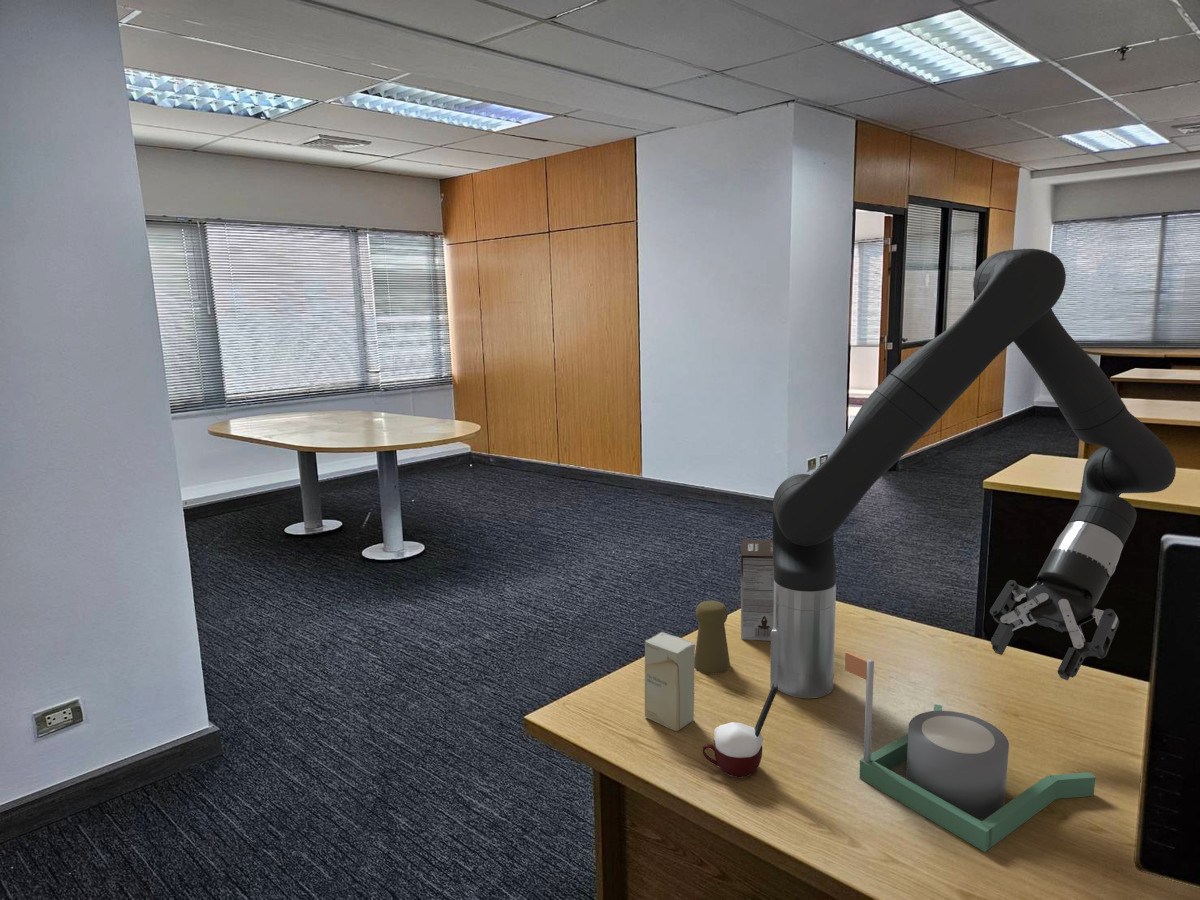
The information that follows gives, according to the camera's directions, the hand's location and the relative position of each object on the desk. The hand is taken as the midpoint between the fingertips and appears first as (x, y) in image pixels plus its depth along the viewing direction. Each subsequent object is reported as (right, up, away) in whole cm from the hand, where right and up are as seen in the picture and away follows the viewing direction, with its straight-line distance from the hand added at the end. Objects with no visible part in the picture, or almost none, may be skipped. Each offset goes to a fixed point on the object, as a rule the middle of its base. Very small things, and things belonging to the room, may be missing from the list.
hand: (1028, 663), depth 100 cm
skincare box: (-46, -12, +11) cm, 49 cm away
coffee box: (-27, -5, +40) cm, 49 cm away
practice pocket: (-11, -13, -5) cm, 18 cm away
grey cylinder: (-13, -14, -7) cm, 20 cm away
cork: (-38, -8, +27) cm, 47 cm away
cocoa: (-38, -14, -1) cm, 40 cm away
